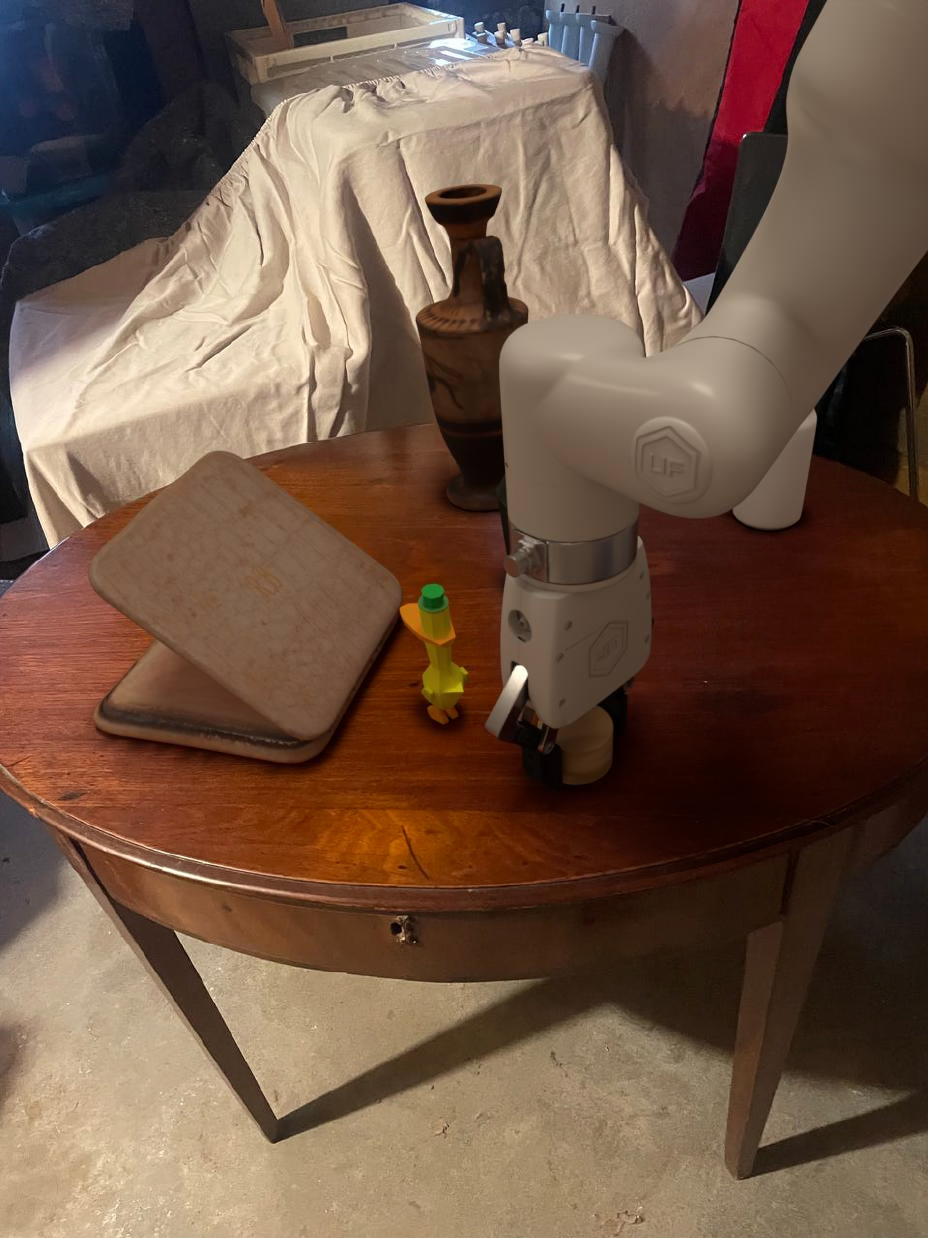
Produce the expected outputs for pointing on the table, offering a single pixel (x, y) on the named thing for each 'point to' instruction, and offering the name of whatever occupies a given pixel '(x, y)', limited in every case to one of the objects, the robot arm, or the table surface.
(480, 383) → the vase
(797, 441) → the can
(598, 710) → the cylinder
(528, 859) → the table surface
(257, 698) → the case
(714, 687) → the table surface
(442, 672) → the toy figure
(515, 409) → the robot arm
